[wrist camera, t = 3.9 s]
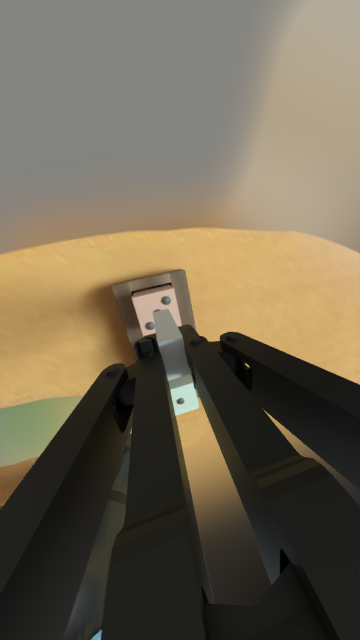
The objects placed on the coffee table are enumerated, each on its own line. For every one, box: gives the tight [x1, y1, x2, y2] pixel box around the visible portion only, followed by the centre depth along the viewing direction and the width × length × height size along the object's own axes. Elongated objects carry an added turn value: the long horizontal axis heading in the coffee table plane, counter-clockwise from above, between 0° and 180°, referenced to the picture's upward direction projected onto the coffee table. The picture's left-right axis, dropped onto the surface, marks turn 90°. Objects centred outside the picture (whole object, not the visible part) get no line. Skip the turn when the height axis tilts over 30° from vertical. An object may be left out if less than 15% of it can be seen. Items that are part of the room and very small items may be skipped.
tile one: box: [168, 374, 199, 416], centre depth 27 cm, size 5×5×5 cm
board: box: [111, 269, 199, 397], centre depth 28 cm, size 10×22×4 cm, turn 11°
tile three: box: [132, 284, 182, 337], centre depth 23 cm, size 5×5×5 cm
